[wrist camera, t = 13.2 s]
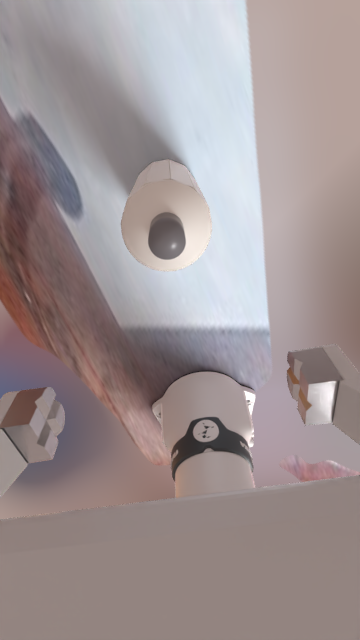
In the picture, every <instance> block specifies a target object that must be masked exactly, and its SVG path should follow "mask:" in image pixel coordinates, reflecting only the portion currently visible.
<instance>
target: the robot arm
mask: <svg viewBox="0 0 360 640" xmlns="http://www.w3.org/2000/svg"><path fill="white" fill-rule="evenodd" d="M287 361H288V363H289V365H290V368H289V369H288V370H287V382H288V387H289V390H290V393H291V395H292V398H293V399H295V400H296V401H298V411H299V413H300V415H301V417H302V420H303V422H304V424H305V425H315V424H324V423H333V425H335V426H336V427H337V428H339V429H340V430H341V431H342V432H344V433H345V434H346V435H348V436H349V437H350V438H351V439H353V440H354V441H355V442H356V443H358V444H359V445H360V373H359V372H358V371H357V369H356V368H355V367H354V366H353V364H352V363H351V362H350V360H349V359H348V358H347V357H346V355H345V354H344V353H343V352H342V350H341V349H340V348H339V346H338V345H336V344H332V345H326V346H320V347H315V348H309V349H302V350H295V351H289V352H288V356H287ZM55 396H56V394H55V392H54V391H53V389H52V388H50V387H45V388H37V389H29V390H22V391H15V392H8V393H6V394H4V395H3V397H2V398H1V400H0V497H1V496H2V495H3V494H4V493H5V491H6V490H7V489H8V488H9V487H10V485H11V484H12V483H13V482H14V481H15V480H16V478H17V477H18V476H19V475H20V474H21V472H22V471H23V470H24V469H25V468H26V467H27V465H28V464H27V463H33V462H39V461H46V460H52V459H53V456H54V453H55V450H56V448H57V444H58V440H57V438H56V436H57V435H58V434H59V433H60V432H61V431H62V430H63V427H64V423H65V413H64V409H63V407H62V405H61V403H59V402H57V401H55V400H54V399H55ZM254 401H255V392H254V390H252V389H250V388H247V387H244V386H241V385H239V384H238V383H237V382H236V381H234V380H233V379H232V378H230V377H228V376H226V375H224V374H221V373H216V372H197V373H192V374H189V375H186V376H183V377H181V378H180V379H178V380H176V381H175V382H174V383H173V384H171V385H170V387H169V388H168V389H167V391H166V392H165V394H164V396H163V397H162V398H161V399H159V400H158V401H156V402H155V403H154V404H153V405H152V411H153V413H154V415H155V416H156V418H157V420H158V421H159V423H160V424H161V429H162V443H163V444H164V445H165V446H166V448H167V449H168V450H169V452H170V453H171V470H172V477H173V479H174V481H175V495H176V498H172V499H163V500H155V501H147V502H139V503H132V504H122V505H114V506H106V507H98V508H90V509H82V510H74V511H65V512H58V513H50V514H41V515H33V516H25V517H17V518H9V519H1V520H0V640H360V475H356V476H348V477H340V478H332V479H324V480H316V481H308V482H300V483H292V484H283V485H275V486H267V487H259V488H256V487H255V483H254V479H253V475H252V472H253V463H252V455H251V452H250V450H249V447H252V446H253V437H254V428H253V424H252V419H251V414H252V410H253V406H254Z"/></svg>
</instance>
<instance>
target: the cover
mask: <svg viewBox="0 0 360 640" xmlns="http://www.w3.org/2000/svg"><path fill="white" fill-rule="evenodd" d="M121 229H122V236H123V239H124V242H125V245H126V247H127V249H128V250H129V252H130V253H131V254H132V255H133V257H134V258H135V259H136V260H137V261H139V262H140V263H141V264H143V265H145V266H147V267H149V268H151V269H154V270H158V271H176V270H180V269H183V268H185V267H187V266H189V265H191V264H192V263H194V262H195V261H196V260H197V259H199V257H200V256H201V255H202V254H203V252H204V251H205V250H206V248H207V246H208V243H209V241H210V237H211V231H212V223H211V216H210V210H209V206H208V204H207V202H206V200H205V198H204V196H203V194H202V192H201V190H200V188H199V186H198V184H197V182H196V180H195V179H194V177H193V176H192V175H191V173H190V172H189V170H188V169H187V168H186V166H184V165H182V164H180V163H177V162H175V161H172V160H170V159H166V160H161V161H156V162H152V163H150V164H149V165H148V166H147V167H146V168H145V169H144V170H143V171H142V172H141V173H140V174H139V176H138V178H137V180H136V182H135V184H134V186H133V188H132V191H131V193H130V195H129V197H128V199H127V202H126V206H125V209H124V212H123V216H122V220H121Z"/></svg>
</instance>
